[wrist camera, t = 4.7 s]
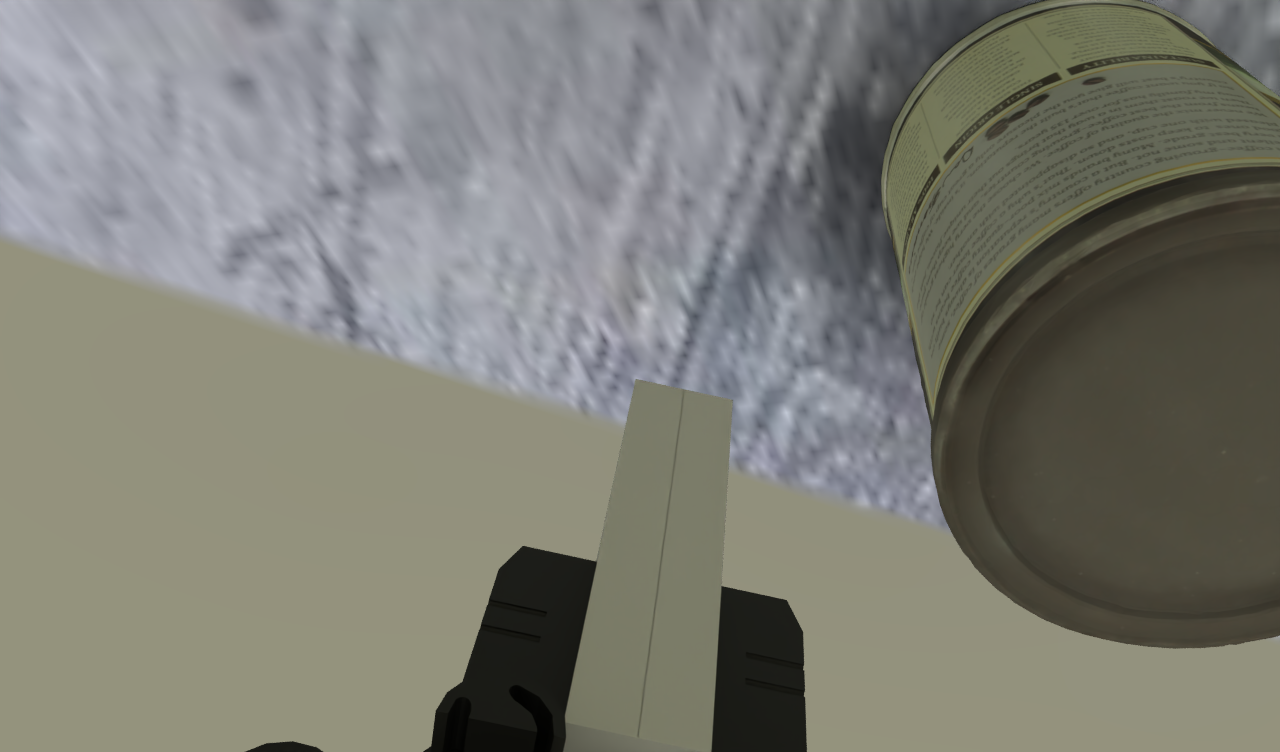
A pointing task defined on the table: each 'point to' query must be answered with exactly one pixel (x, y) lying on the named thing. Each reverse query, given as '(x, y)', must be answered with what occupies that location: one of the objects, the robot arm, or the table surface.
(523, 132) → the table surface
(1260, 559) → the coffee can
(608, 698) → the robot arm
